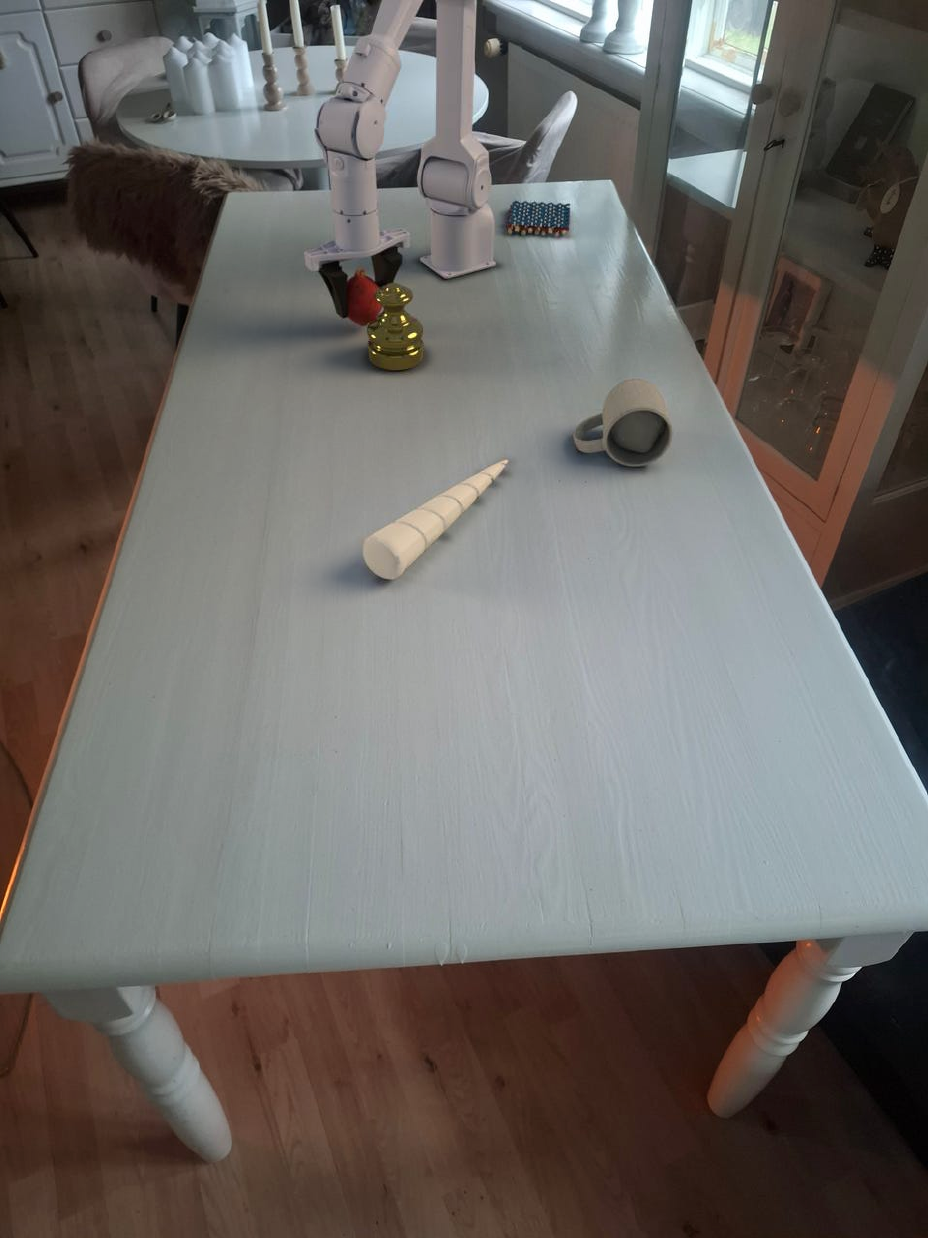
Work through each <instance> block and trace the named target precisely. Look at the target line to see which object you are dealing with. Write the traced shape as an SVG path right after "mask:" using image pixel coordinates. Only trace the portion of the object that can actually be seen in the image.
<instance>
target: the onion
mask: <svg viewBox="0 0 928 1238" xmlns="http://www.w3.org/2000/svg"><path fill="white" fill-rule="evenodd" d="M378 288H379V286H378V285H377V283H376V282H375V279H372V278H371V277H369V276H368V275H366V270H365V269H364V268H363V267H359V268H357V269H356V271H355V272H354V275H353V276H351V277H350V278H348V279H347V287H346V299H347V308H348V317H347V319H348V320H350V322H353V323H354V324H356V325H358V326H361V327H366V326H368V324H369V323H370V322H371V321H372V320H373V319H374V318H376V317H377V316H378V315H379V314H380V313H381V311H382V309H383V306H382V305H381V304H379V303H377V302H376V301H375V299H374V292H375V291H376V290H377V289H378Z"/></svg>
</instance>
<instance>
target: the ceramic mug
mask: <svg viewBox="0 0 928 1238" xmlns="http://www.w3.org/2000/svg"><path fill="white" fill-rule="evenodd" d="M669 415H670V414H669V412H668V409H667V406H666V403H665V399H664V397H663V394H662V393H661V392H660V391H659V389H658V388H657V387H656V386H655V385H654V384H653V383H651V382H649V381H647V380H643V379H640V378H639V379H637V378H635V379H627V380H624V381H621V382H620V383H618V384H616V385H615V386H614V387H613V388H611V390H609V392H608V394H607V395H606V397H605V399H604V402H603V407H602V411H601V413H598V414H594V415H592V416H590V417H588V418H586V419H584V420H582V421H581V422H580V423H579V424H578V425H577V426H576V427H575V429H574V432H573V442H574V443H575V446H576V449H577V450H579V451H580V452H582V453H586V454H594V453H600V452H603V451H604V452H605V451H606V454H607V455H608V456H609V457H610V458H611V460H613V461H614V462H615V463H618V464H619V465H623V466H625V467H632V468H633V467H634V468H637V467H644V466H647V465H650V464H652V463H655V462H656V461H658V460H659V459H661V458H662V457H663V456H664V455H665V453H666V452H667V451H668V449H669V448H670V446H671V443H672V439H673V434H674V431H673V430H674V429H673V424H672V421H671V419H670V416H669ZM600 426H602V437H601V438H599V439H592V440H583V438H584V437H585V434H587V433H588V432H589V431H591V430H593V429H595V428H598V427H600Z"/></svg>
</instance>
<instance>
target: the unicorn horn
mask: <svg viewBox="0 0 928 1238" xmlns="http://www.w3.org/2000/svg"><path fill="white" fill-rule="evenodd" d="M508 462H509V459H504V460H501V461H499V462H496V463H495V464H492V465H490V466H488V467H486V468H484V469H483V470H481V471H479V472H478V473H475V474H474V475H472V476H470V477H468V478H466V479H464V480H463V481H461V482H459V483H458V484H455V485H454V486H452V487H450V488H448V489H447V490H445V491H444V492H442V493H440V494H438V495H437V496H435V497H433V498H431V499H430V500H428V501H426V502H425V503H423V504H422V505H420V506H418V507H416V508H415V509H413V510H411V511H410V512H408V513H406V514H405V515H402V516H401V517H400V518H397V519H396V520H394V521H393V522H391V523H390V524H389V523H388V525H386V526H384V527H383V528H381V529H379V530H377V531H375V532H374V533H372V534H371V535H369V536H368V537H367V538H366V539H365V540H364V542H363V545H362V557H363V559H364V563H365V564H366V565H367V566H368V568H369V570H371V571H372V572H373V573H374V575H376V576H378V577H380V578H382V579H384V580H385V579H386V580H391V581H392V580H395V579H397V578H399V577H400V576H401V575H402V574H403V573H405V571H406V570H407V569H408V568H409V567H410V566H411V565H412V564H413V563H414V562H415V561H416V560H417V559H418V558H419V557H420V556H422V554H423V553H424V552H425V550H427V549H428V548H430V547H431V545H432V544H433V543H435V541H437V540H438V538H440V536H441V535H443V533H444V532H445V531H447V530H448V529H449V528H450V527H451V525H452V524H453V523H454V522H456V521H457V520H458V519H459V518H460V517H461V514H463V513H465V511H466V510H467V509H468V508H469V507H471V505H472V504H473V503H475V501H476V500H477V498H478V497H480V496H481V495H482V494H483V493H484V491H485V490H487V488H488V487H489V486H490V485H491V484H492V483H493V480H495V479H497V477H498V476H499V475H500V474H501V472H502V471H503V470H504V469H505V468H506V465H507V464H509V463H508Z"/></svg>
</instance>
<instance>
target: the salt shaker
mask: <svg viewBox="0 0 928 1238" xmlns="http://www.w3.org/2000/svg"><path fill="white" fill-rule="evenodd" d="M413 298H414V293H413V291H412V289H410V288H409V287H408V286H405V285H403V284H400V283H397V282H393V283H389V284H387V285H384V286H382V287H380V288H378V289H377V290H376V291H375V292H374V299H375V301H376V302H377V303H379V304H381V305H382V309H383V311H382V312H380V313H379V314H378V316H377V317H376V318H374V319H373V320H372V321H371V322H370V323H368V324H367V325H366V326H367V327H366V335H367V338H368V341H367V347H368V358H369V361H370V362H371V363H372V364H373V366H375V367H377V368H379V369H382V370H385V371H394V372H395V371H396V372H397V371H404V370H410V369H412V368H414V367H417V366H418V365H419V364H420V363H421V362H422V360H423V359H424V340H423V336H424V325H422V323H421V322H420V320H419V319H418V318H416V317H414V316H412V315H411V314H410V313H408V312H407V310H405V308H406V306H407V305H408V304H409V303H410V302H411V301H413Z"/></svg>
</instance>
